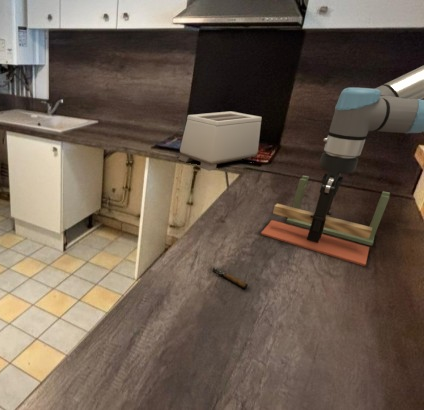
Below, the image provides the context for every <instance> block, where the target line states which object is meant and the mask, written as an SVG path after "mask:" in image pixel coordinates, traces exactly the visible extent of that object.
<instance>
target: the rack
mask: <svg viewBox="0 0 424 410" xmlns="http://www.w3.org/2000/svg"><path fill="white" fill-rule="evenodd" d="M309 179H310V176H308V175H302V176H301V178H299V180H298V181H299V182H298V184H297V188H296V192H295V195H294V198H293V202H292V206H291V207H293V208H297V209H301V207H302V203H303V199H304V196H305V192H306V189H307V185H308V182H309ZM390 196H391V192H388V191H382V192H381V195H380V196H379V199H378V203H377V205H376V208H375V210H374V213H373V215H372V217H371V218H372V219H371V221H370V224H369V227H372V232H371V234H370V237H369V239H366V238H362V237H358V236H355V235H351V234H347V233H343V232H340V231H336V230H332V229H329V228H325V227H324V229H323V232H322V234H325V235H329V236H333V237H336V238H340V239H343V240H347V241H351V242H354V243H358V244H362V245H365V246H369V247H373V245H374V242H375V241H374V240H375V237H376V234H377V230H378V228H379V226H380V223H381V221H382V219H383V215H384V212H385V210H386V207H387V205H388V203H389V200H390ZM285 224H289V225H293V226H296V227H300V228H304V229H307V230H310V227H311V224H310V223H306V222H303V221H299V220H295V219H291V218H288V217H287V219H286V223H285Z"/></svg>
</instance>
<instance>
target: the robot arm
mask: <svg viewBox="0 0 424 410" xmlns="http://www.w3.org/2000/svg"><path fill="white" fill-rule="evenodd" d="M369 132H384V133H400V134H419V133H420V134H421V133H424V65H422V66H419V67H417V68H416V69H413V70H411V71H409V72H407V73H404V74H402V75H401V76H398V77H396V78H395V79H393V80H390V81H388V82H386V83H384V84H382V85H380V86H378V87H376V88H375V87H374V88H369V87H346V88H344V89H342V90H341V93H340V94H339V97H338V100H337V102H336V105H335V107H334V112H333V116H332V120H331V124H330V126H329V129H328V133H327V137H324V138H323V142H324V147H323V152H322V153H321V156H320V159H319V163H318V166H319V168H320V169H321V170H324V171H327V173H325V174H324V175H323V176H322V179H321V186H320V189H319V196H318V200H317V203H316V207H315V209H314V212H313V213H314V215H311V217H310V218H313V220H312V224H311V227H310V229H308V230H309V233H308V237H307V240H311V241H314V242H317V243H318V242H319V239H320V238H321V235H322V234H323V229H324V224H325V221H326V216H329V217H332V213H333V212H331V209H332V208H331V207H332V204H333V201H334V198H335V196H337V193H338V191H339V189H340V186H341V185H342V183H343V179H344V176H342V174H345V175H346V174H348V175H349V174H352V173H354V172H355V171H356V168H357V165H358V162H359V156H361V154H362V152H363V149H364V145H365V143H366V138H367V136H368V133H369Z"/></svg>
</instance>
